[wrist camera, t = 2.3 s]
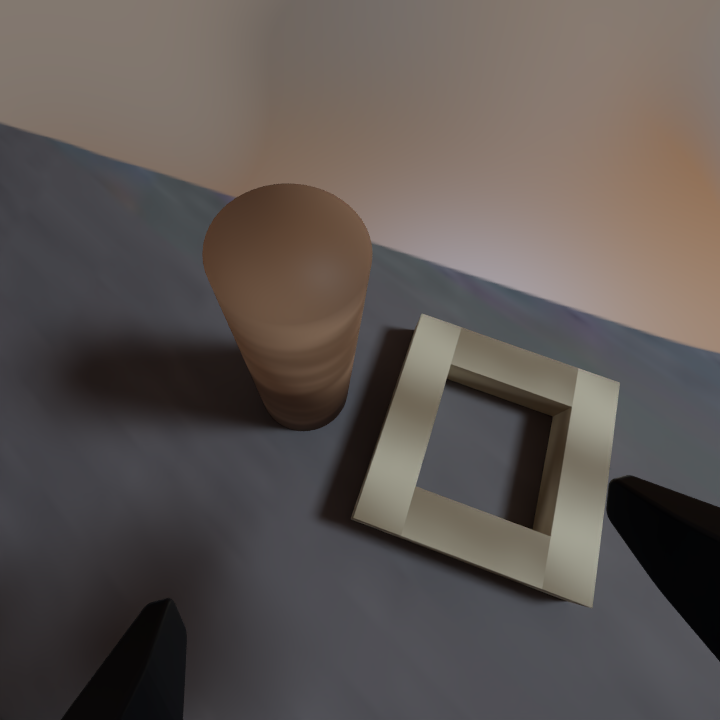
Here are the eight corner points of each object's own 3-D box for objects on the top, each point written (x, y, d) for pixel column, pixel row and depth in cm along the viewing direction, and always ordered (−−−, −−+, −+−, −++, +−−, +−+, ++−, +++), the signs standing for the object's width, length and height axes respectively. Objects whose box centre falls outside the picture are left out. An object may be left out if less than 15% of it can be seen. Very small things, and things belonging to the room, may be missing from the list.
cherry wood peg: (301, 449, 22) (280, 359, 11) (243, 386, 23) (167, 242, 12) (365, 390, 24) (406, 255, 12) (308, 334, 25) (296, 159, 13)
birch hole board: (567, 601, 21) (592, 607, 19) (350, 519, 21) (353, 517, 19) (597, 394, 25) (619, 382, 23) (414, 329, 25) (421, 313, 24)
